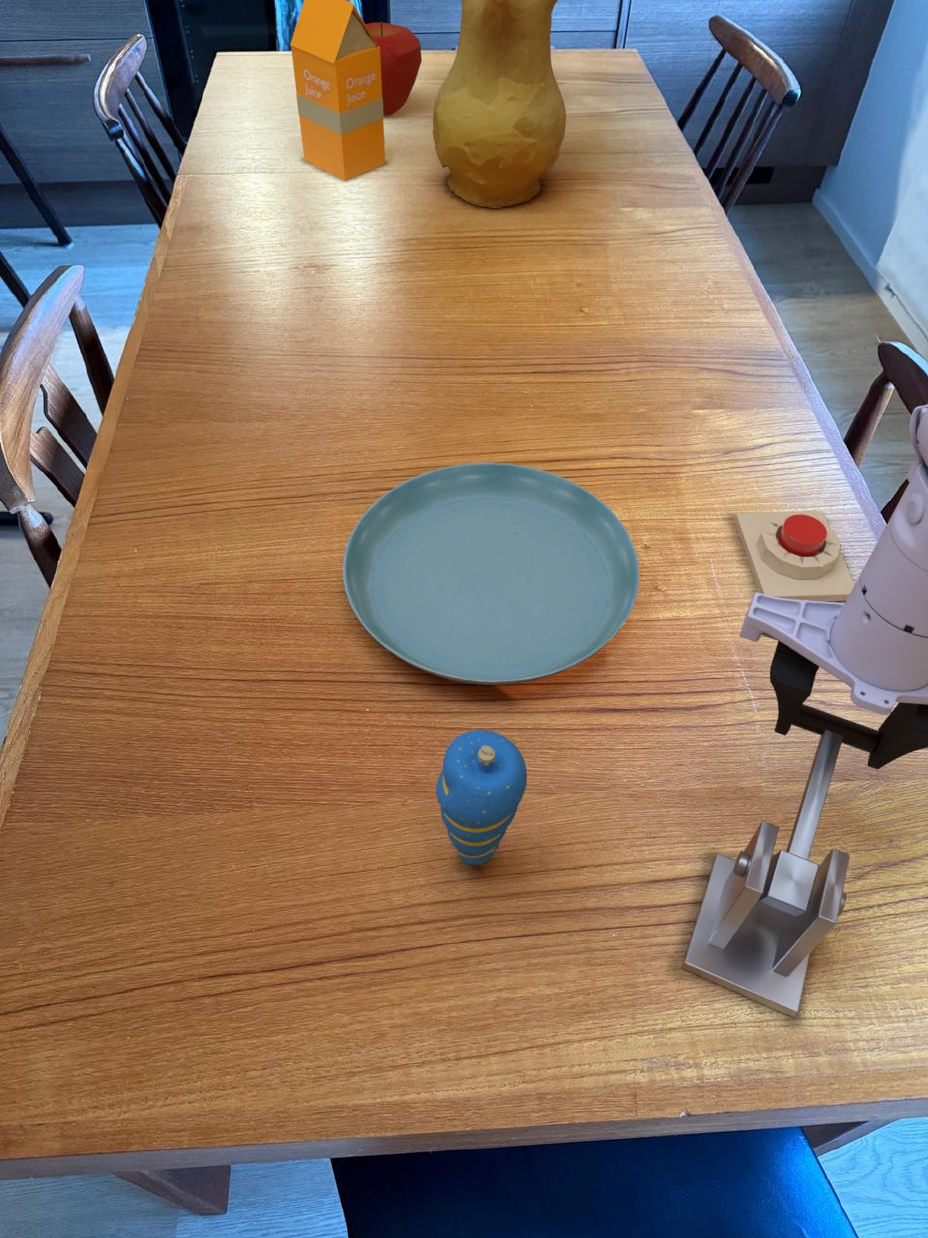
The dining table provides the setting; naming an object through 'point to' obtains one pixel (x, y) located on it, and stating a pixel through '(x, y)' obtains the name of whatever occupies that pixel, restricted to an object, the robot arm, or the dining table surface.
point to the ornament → (480, 792)
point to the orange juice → (338, 89)
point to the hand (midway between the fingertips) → (828, 738)
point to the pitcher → (500, 103)
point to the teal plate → (491, 573)
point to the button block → (792, 560)
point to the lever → (811, 809)
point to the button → (802, 535)
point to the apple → (396, 63)
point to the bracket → (761, 925)
